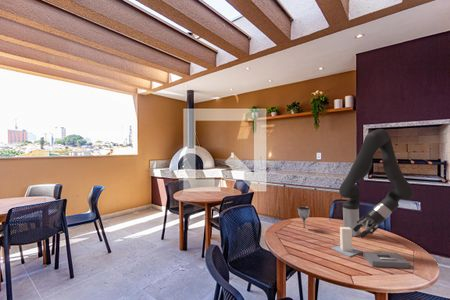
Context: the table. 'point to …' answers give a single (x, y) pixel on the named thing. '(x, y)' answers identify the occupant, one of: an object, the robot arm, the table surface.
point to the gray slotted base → (386, 260)
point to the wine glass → (303, 213)
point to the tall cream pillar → (346, 238)
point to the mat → (347, 253)
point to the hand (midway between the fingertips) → (357, 233)
